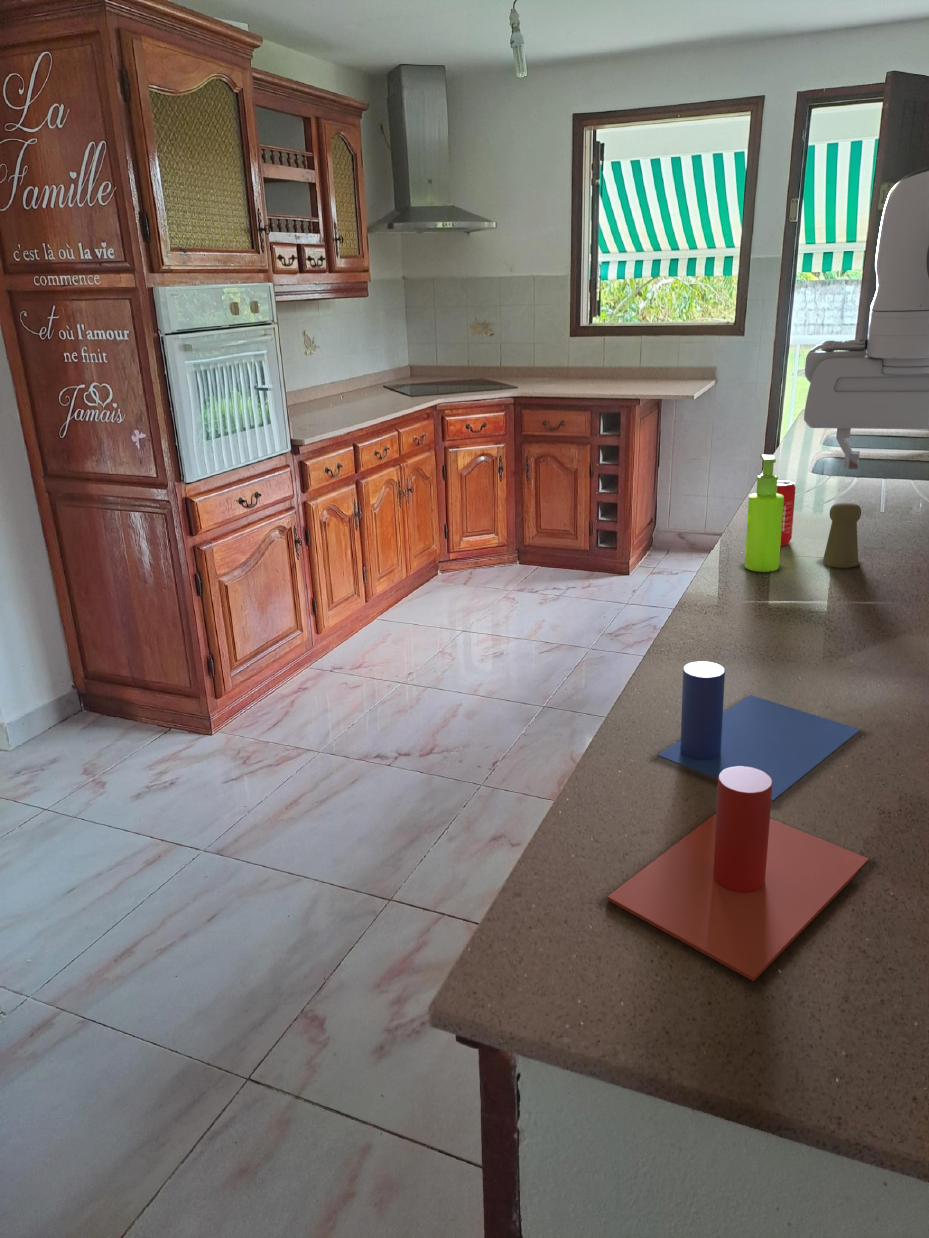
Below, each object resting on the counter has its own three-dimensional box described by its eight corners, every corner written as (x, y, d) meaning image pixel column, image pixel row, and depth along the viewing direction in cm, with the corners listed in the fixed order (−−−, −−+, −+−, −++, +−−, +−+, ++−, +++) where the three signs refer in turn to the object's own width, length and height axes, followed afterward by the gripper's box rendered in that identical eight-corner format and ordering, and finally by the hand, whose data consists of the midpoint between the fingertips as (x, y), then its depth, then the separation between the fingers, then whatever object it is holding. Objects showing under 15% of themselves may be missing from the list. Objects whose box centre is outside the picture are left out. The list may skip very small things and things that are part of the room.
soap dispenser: (775, 560, 163) (783, 452, 156) (781, 571, 156) (789, 459, 149) (742, 560, 164) (748, 453, 157) (746, 571, 157) (753, 460, 150)
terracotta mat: (868, 862, 79) (869, 858, 79) (753, 981, 67) (753, 977, 67) (730, 805, 89) (730, 801, 89) (607, 900, 77) (607, 896, 77)
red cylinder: (774, 875, 78) (782, 777, 74) (748, 899, 75) (755, 799, 72) (730, 855, 81) (735, 760, 77) (703, 877, 78) (708, 780, 75)
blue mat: (860, 732, 101) (860, 729, 101) (772, 803, 89) (773, 800, 89) (750, 697, 111) (750, 694, 111) (657, 757, 99) (657, 754, 99)
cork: (825, 556, 163) (830, 498, 159) (860, 559, 160) (867, 500, 156) (819, 565, 158) (825, 505, 154) (855, 569, 155) (862, 508, 151)
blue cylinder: (728, 749, 99) (732, 668, 95) (706, 764, 96) (710, 681, 93) (694, 736, 102) (697, 657, 98) (672, 751, 99) (675, 670, 96)
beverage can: (788, 547, 169) (793, 486, 165) (760, 545, 172) (764, 484, 168) (793, 540, 174) (798, 480, 169) (766, 538, 176) (770, 479, 172)
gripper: (805, 343, 93) (795, 472, 98) (1029, 337, 85) (1006, 478, 90) (809, 339, 99) (799, 461, 104) (1020, 333, 91) (999, 466, 96)
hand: (897, 469), depth 97 cm, fingers open, 8 cm apart
